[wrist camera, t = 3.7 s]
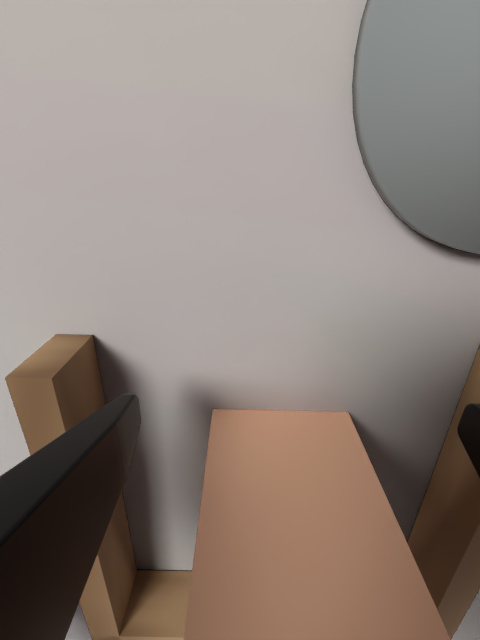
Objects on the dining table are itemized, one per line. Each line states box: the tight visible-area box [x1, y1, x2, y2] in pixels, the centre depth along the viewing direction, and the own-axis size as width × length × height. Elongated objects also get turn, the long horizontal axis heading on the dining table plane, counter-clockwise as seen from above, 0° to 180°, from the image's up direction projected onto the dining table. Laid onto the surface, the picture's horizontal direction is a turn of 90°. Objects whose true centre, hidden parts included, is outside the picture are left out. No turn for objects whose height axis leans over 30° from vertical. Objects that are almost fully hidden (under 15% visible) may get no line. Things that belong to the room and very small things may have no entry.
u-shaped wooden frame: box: [5, 334, 480, 640], centre depth 12 cm, size 15×14×2 cm
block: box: [184, 409, 451, 640], centre depth 9 cm, size 5×5×8 cm
